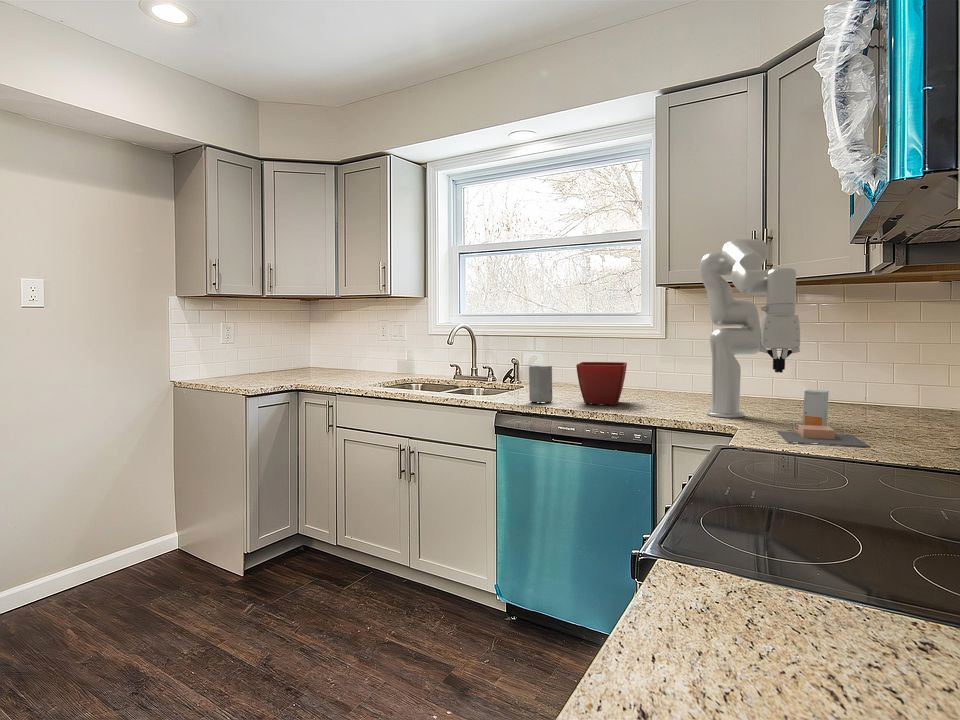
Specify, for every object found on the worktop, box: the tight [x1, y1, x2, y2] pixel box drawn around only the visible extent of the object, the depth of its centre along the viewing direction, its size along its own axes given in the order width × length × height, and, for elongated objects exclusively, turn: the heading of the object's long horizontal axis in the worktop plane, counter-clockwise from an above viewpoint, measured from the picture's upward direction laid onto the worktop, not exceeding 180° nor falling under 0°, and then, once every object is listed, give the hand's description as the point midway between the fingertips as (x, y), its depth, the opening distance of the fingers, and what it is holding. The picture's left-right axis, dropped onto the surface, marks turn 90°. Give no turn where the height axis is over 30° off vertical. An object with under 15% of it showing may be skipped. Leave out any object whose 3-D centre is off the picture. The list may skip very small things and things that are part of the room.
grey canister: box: [528, 365, 553, 403], centre depth 239 cm, size 8×7×16 cm
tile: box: [797, 424, 836, 439], centre depth 166 cm, size 7×2×8 cm
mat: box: [776, 430, 871, 448], centre depth 163 cm, size 16×20×1 cm
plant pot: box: [575, 361, 628, 406], centre depth 236 cm, size 19×19×17 cm
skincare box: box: [802, 389, 830, 426], centre depth 181 cm, size 6×4×12 cm
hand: (778, 372), depth 168 cm, fingers closed
